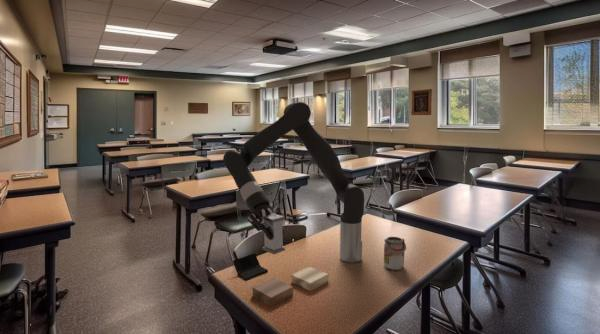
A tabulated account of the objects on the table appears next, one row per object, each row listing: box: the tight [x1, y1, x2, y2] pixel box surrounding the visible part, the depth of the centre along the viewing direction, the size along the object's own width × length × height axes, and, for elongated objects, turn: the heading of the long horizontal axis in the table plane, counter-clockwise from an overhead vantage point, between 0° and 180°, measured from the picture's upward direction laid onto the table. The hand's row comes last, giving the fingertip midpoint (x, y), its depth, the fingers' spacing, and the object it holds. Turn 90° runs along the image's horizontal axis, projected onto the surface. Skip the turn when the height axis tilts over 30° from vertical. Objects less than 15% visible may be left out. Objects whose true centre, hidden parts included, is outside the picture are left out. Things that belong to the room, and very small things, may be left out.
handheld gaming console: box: [232, 253, 268, 281], centre depth 135 cm, size 12×7×10 cm
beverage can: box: [383, 236, 407, 271], centre depth 138 cm, size 9×8×12 cm
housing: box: [262, 214, 286, 255], centre depth 115 cm, size 6×5×12 cm
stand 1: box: [252, 277, 294, 307], centre depth 117 cm, size 10×10×3 cm
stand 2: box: [290, 266, 330, 292], centre depth 127 cm, size 10×10×3 cm
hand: (277, 236), depth 114 cm, fingers closed on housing, 4 cm apart
